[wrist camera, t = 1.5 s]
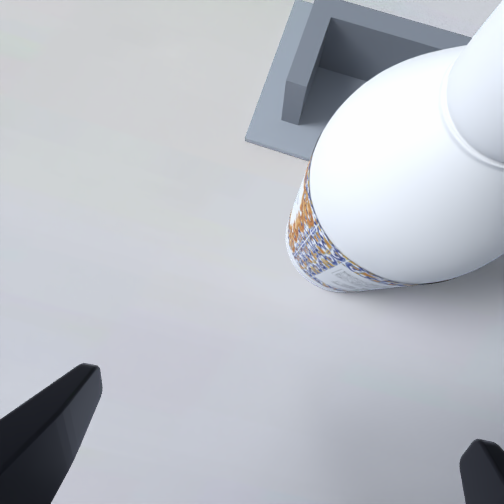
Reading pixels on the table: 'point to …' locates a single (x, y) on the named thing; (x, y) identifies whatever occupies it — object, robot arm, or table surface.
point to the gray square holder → (331, 67)
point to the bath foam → (408, 174)
